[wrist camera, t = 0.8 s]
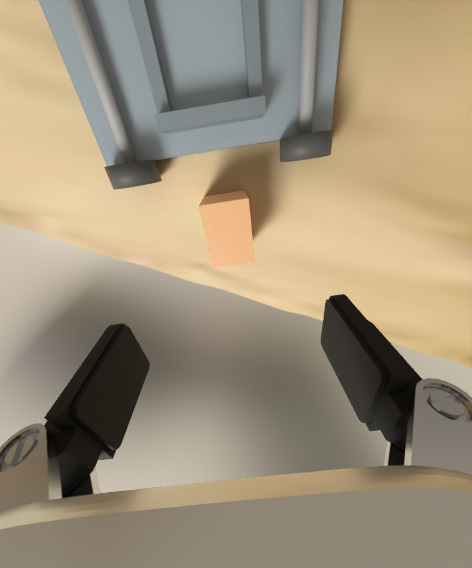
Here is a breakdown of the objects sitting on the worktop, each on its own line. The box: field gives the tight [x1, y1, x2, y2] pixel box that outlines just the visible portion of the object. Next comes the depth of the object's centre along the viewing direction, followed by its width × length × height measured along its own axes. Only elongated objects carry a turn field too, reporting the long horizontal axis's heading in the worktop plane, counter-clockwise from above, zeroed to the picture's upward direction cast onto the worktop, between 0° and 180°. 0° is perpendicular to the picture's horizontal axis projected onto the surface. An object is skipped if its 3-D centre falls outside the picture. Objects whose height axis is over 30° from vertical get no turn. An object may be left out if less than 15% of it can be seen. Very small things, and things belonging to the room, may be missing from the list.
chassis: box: [39, 0, 343, 189], centre depth 16 cm, size 24×20×5 cm
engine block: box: [199, 190, 255, 267], centre depth 24 cm, size 5×7×6 cm
